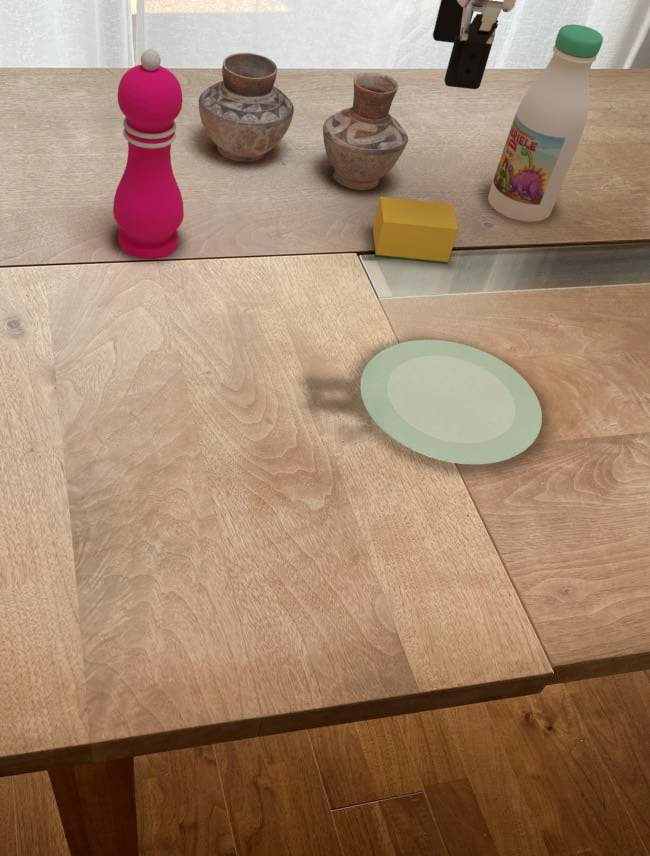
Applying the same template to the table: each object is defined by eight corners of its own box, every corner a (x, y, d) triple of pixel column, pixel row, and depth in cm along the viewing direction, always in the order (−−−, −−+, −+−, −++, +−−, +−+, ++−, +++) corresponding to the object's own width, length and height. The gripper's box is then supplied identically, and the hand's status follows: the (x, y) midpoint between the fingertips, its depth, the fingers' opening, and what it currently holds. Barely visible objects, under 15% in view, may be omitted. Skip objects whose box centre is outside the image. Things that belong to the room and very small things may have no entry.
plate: (521, 357, 89) (525, 347, 88) (553, 481, 78) (558, 472, 77) (353, 341, 88) (355, 331, 87) (362, 464, 77) (365, 455, 76)
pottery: (387, 215, 103) (411, 113, 94) (183, 166, 106) (187, 62, 97) (403, 170, 110) (427, 70, 101) (211, 125, 113) (218, 24, 104)
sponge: (440, 244, 101) (452, 203, 97) (445, 270, 97) (458, 229, 94) (370, 237, 100) (380, 196, 96) (373, 262, 97) (383, 221, 93)
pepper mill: (196, 251, 95) (208, 55, 80) (145, 276, 91) (147, 75, 76) (150, 221, 98) (154, 26, 82) (99, 244, 94) (93, 44, 79)
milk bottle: (519, 187, 111) (582, 12, 95) (562, 219, 107) (635, 42, 91) (472, 199, 108) (529, 21, 92) (515, 232, 104) (582, 52, 88)
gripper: (585, -126, 65) (508, 110, 78) (541, -186, 76) (480, 29, 89) (483, -139, 64) (424, 101, 77) (454, -198, 75) (406, 21, 88)
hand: (454, 62), depth 83 cm, fingers open, 9 cm apart
